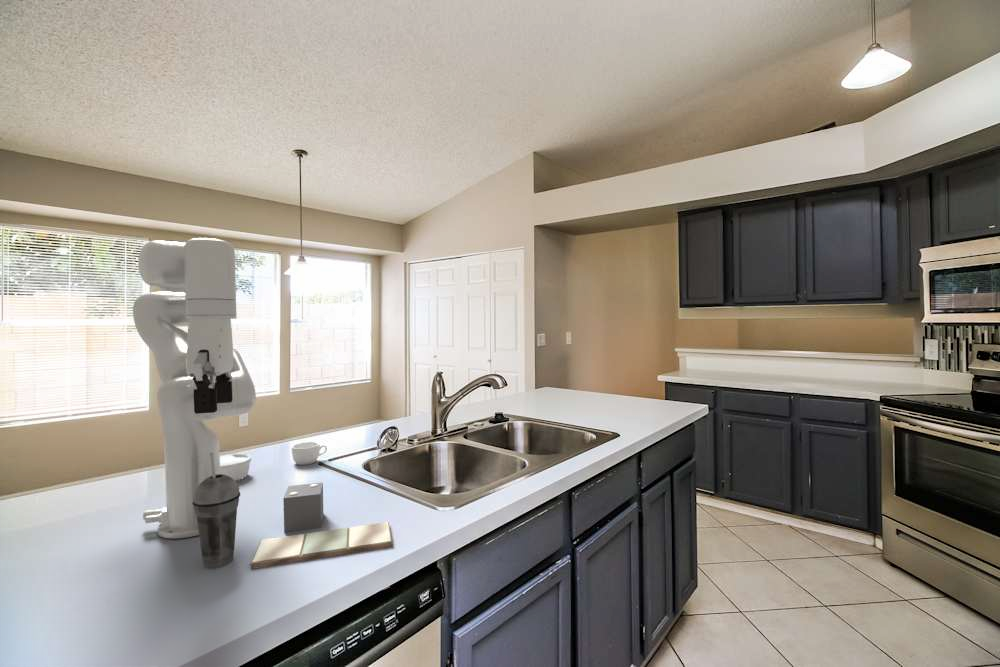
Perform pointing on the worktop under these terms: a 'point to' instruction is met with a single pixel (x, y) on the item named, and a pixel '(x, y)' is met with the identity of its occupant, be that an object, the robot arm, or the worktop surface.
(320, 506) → the die
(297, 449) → the teacup
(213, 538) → the beverage cup
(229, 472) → the ramekin
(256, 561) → the game track
